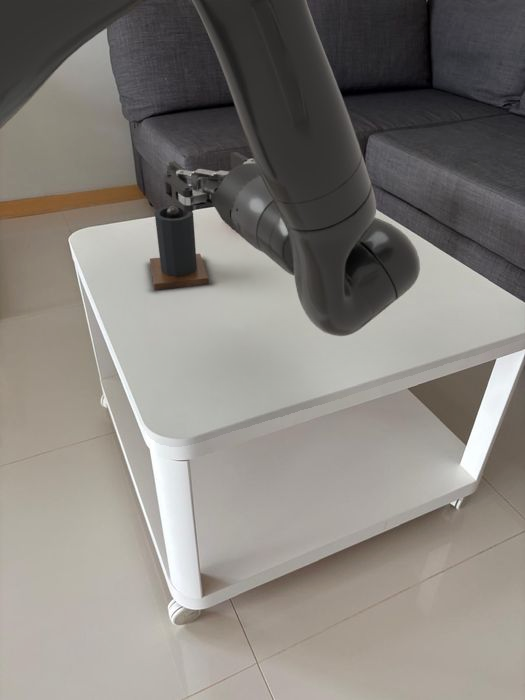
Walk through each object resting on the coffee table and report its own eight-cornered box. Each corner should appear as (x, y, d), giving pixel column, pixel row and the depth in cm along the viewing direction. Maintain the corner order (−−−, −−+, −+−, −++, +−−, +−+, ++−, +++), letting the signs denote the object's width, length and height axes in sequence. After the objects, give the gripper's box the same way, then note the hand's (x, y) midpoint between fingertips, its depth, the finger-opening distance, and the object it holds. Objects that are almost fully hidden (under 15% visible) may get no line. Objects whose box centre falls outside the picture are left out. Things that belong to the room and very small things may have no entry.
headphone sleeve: (162, 278, 90) (156, 221, 84) (159, 261, 95) (153, 206, 89) (198, 274, 92) (195, 218, 85) (193, 258, 96) (190, 204, 90)
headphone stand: (154, 290, 90) (146, 220, 82) (150, 264, 97) (141, 198, 89) (208, 284, 91) (204, 215, 84) (200, 259, 98) (196, 194, 91)
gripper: (323, 165, 59) (252, 127, 70) (202, 186, 53) (146, 141, 64) (317, 230, 63) (251, 184, 75) (205, 255, 58) (152, 202, 69)
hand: (203, 164), depth 69 cm, fingers open, 8 cm apart
